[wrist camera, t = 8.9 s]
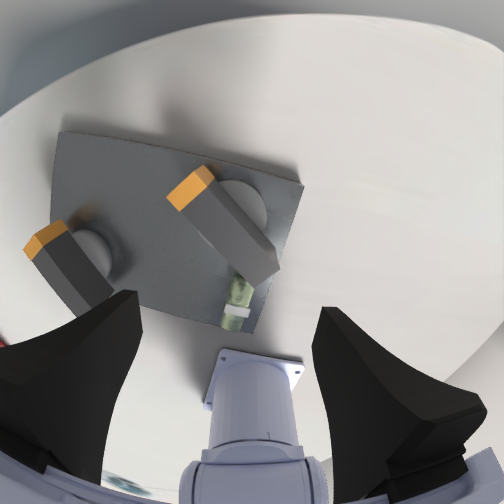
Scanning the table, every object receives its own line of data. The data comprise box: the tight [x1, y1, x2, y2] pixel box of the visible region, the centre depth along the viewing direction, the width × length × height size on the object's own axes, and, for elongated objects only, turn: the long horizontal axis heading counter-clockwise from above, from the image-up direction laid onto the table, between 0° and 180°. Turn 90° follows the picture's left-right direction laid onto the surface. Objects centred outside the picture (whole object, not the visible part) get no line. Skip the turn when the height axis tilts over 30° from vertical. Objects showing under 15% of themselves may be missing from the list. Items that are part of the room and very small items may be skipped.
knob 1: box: [23, 219, 115, 317], centre depth 18 cm, size 7×4×4 cm, turn 33°
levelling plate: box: [50, 131, 305, 334], centre depth 19 cm, size 12×18×3 cm, turn 74°
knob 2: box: [166, 165, 280, 288], centre depth 17 cm, size 7×4×4 cm, turn 40°
